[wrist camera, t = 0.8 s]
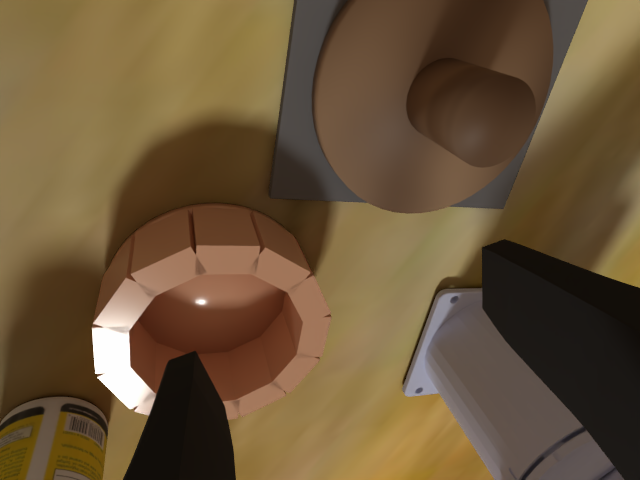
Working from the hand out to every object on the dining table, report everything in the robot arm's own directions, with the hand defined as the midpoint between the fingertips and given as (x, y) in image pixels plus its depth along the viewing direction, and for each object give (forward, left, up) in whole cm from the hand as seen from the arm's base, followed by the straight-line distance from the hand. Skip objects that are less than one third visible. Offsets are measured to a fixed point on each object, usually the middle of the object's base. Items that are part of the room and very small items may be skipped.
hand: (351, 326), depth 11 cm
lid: (-6, -4, -9) cm, 12 cm away
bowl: (+2, +6, -10) cm, 11 cm away
